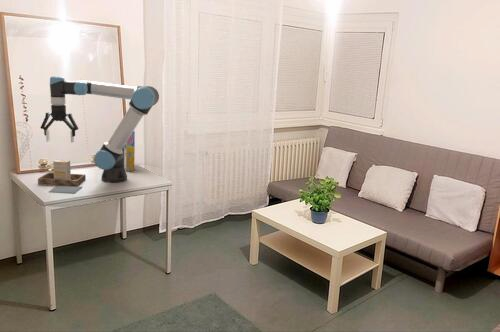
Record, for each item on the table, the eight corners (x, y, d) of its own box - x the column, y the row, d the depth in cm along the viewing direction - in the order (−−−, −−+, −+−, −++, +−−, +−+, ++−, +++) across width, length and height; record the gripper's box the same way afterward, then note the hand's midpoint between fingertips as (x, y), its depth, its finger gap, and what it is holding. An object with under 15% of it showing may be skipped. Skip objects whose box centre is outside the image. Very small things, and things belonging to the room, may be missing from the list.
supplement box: (71, 181, 252) (70, 160, 249) (67, 184, 247) (66, 162, 244) (58, 180, 253) (57, 159, 250) (53, 182, 248) (52, 160, 245)
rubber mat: (82, 187, 243) (82, 186, 243) (74, 193, 232) (74, 192, 232) (57, 186, 242) (57, 185, 242) (48, 192, 231) (48, 191, 231)
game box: (134, 171, 286) (134, 131, 280) (126, 171, 283) (126, 131, 277) (126, 164, 303) (126, 126, 297) (118, 164, 300) (118, 126, 294)
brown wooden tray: (85, 180, 258) (85, 174, 257) (77, 186, 244) (77, 180, 243) (48, 178, 256) (48, 172, 255) (38, 184, 243) (37, 178, 242)
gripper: (83, 104, 244) (84, 141, 249) (38, 102, 242) (40, 139, 247) (78, 106, 237) (80, 143, 242) (32, 104, 235) (35, 141, 240)
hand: (60, 141), depth 244 cm, fingers open, 13 cm apart
